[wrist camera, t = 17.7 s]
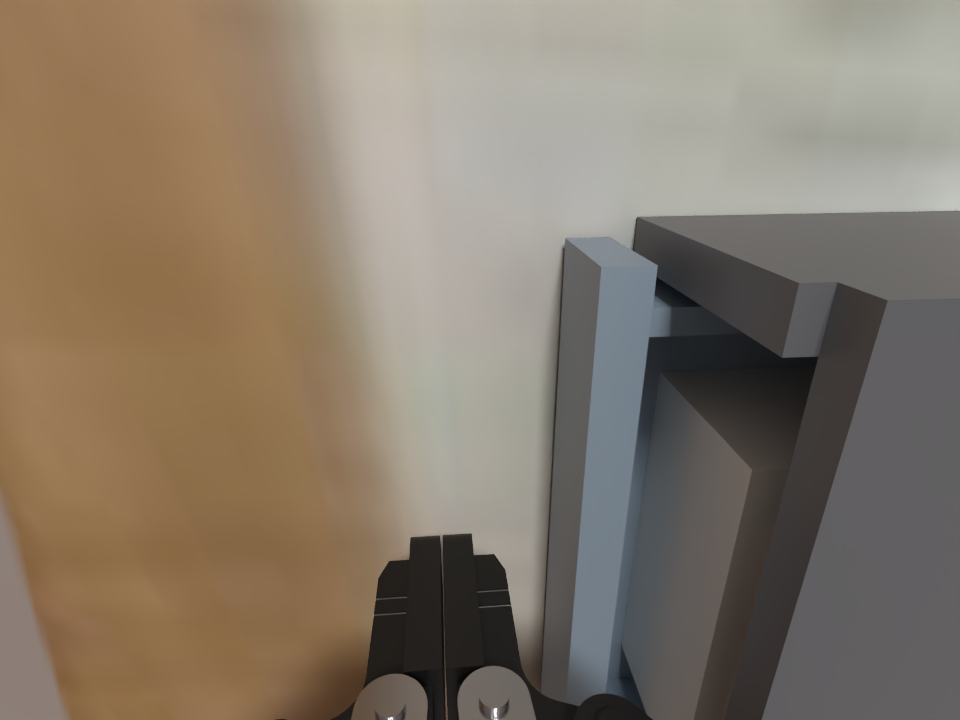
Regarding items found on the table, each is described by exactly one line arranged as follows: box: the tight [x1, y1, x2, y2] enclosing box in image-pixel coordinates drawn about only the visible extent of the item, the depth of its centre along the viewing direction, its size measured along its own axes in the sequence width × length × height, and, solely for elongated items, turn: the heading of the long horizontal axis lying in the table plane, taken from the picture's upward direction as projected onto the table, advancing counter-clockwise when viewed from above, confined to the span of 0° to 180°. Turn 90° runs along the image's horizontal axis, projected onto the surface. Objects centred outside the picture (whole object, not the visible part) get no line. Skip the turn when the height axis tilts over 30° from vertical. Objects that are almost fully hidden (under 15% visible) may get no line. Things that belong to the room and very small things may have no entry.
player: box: [634, 211, 960, 720], centre depth 12 cm, size 14×16×7 cm
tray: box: [541, 237, 818, 714], centre depth 14 cm, size 14×15×3 cm
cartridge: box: [621, 367, 816, 720], centre depth 13 cm, size 5×9×4 cm, turn 0°
